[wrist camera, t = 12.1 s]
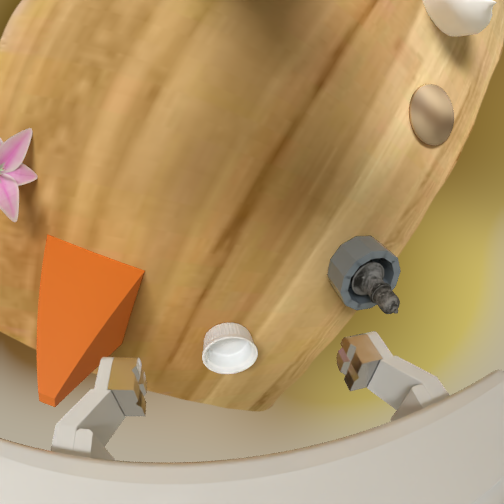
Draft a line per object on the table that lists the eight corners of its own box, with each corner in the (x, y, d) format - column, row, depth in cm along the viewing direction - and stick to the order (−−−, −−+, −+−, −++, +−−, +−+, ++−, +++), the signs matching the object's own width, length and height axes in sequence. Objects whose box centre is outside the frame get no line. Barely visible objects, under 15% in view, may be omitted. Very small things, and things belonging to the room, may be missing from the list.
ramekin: (201, 357, 50) (202, 375, 46) (200, 319, 46) (201, 338, 42) (250, 354, 52) (255, 372, 48) (255, 317, 48) (261, 335, 44)
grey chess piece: (377, 270, 47) (416, 313, 37) (348, 289, 48) (383, 336, 37) (368, 244, 44) (411, 286, 34) (337, 264, 45) (374, 312, 34)
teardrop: (472, 31, 29) (522, 32, 19) (440, 42, 31) (496, 41, 20) (446, -21, 24) (494, -30, 14) (410, -17, 25) (462, -31, 15)
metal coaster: (411, 76, 33) (413, 76, 33) (453, 93, 35) (456, 93, 34) (405, 139, 38) (408, 140, 37) (447, 149, 40) (450, 149, 39)
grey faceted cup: (334, 236, 43) (349, 252, 39) (389, 235, 45) (406, 249, 41) (323, 294, 48) (335, 313, 44) (375, 288, 50) (389, 304, 46)
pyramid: (47, 233, 35) (-24, 324, 17) (145, 270, 40) (124, 384, 23) (40, 313, 40) (-2, 406, 23) (122, 343, 46) (107, 446, 28)
